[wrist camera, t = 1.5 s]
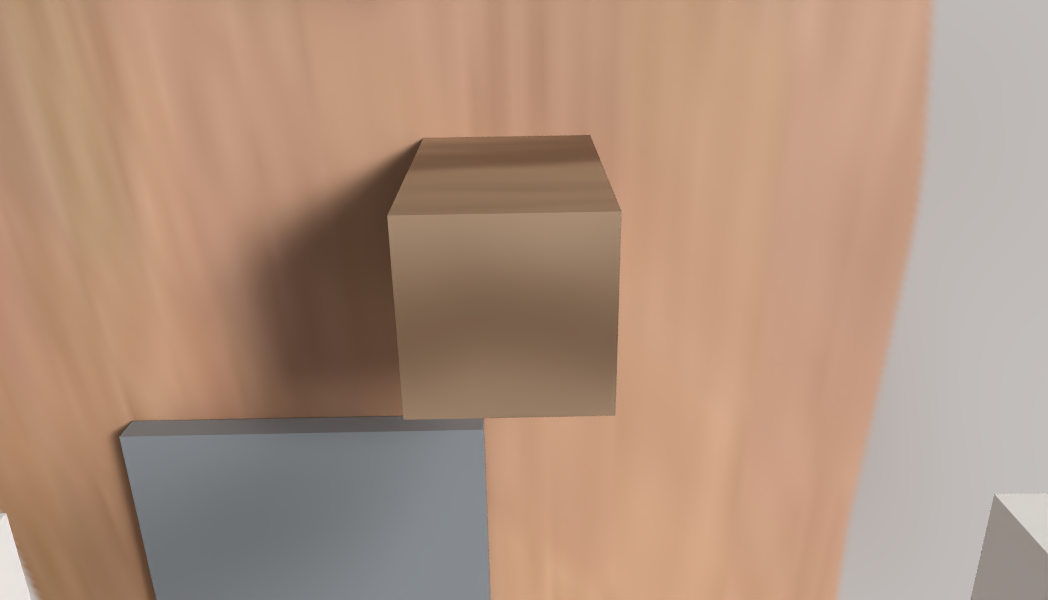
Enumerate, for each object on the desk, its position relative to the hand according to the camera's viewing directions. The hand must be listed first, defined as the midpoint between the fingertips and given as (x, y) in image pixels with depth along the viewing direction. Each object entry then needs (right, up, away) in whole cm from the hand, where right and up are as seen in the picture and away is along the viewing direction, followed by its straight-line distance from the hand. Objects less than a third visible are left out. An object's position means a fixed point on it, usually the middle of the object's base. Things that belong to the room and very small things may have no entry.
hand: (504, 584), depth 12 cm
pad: (-7, -6, +20) cm, 22 cm away
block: (0, +6, +15) cm, 16 cm away
